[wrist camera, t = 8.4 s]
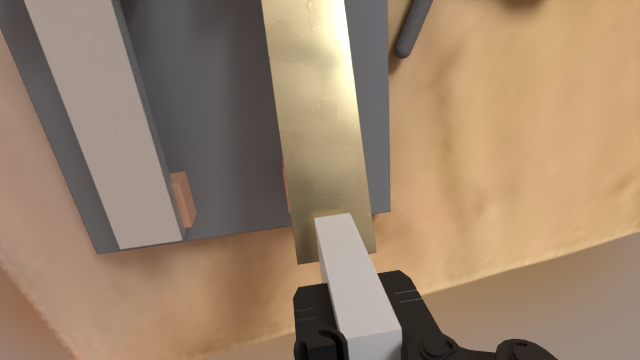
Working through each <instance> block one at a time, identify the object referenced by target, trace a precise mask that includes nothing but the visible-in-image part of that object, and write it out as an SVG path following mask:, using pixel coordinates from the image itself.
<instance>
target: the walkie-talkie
mask: <svg viewBox="0 0 640 360" xmlns="http://www.w3.org/2000/svg"><path fill="white" fill-rule="evenodd" d="M432 2H433V0H414V2H413V5H412V7H411V10H410V12H409V15H408V17H407V19H406V22H405V24H404V27H403V29H402V32H401V34H400V37H399V39H398V42H397V44H396V47H395V50H394V51H395V55H396V56H397V57H398V58H400V59H404V58H407V57H408V56H409V55H410V53H411V51H412V49H413V46H414V44H415V41H416V39H417V37H418V34H419V32H420V30H421V27H422V25H423V23H424V20H425V18H426V16H427V13H428V11H429V9H430V6H431V4H432Z"/></svg>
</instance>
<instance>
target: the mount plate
mask: <svg viewBox="0 0 640 360" xmlns="http://www.w3.org/2000/svg"><path fill="white" fill-rule="evenodd" d="M119 1H120V5H121V8H122V12H123V15H124V19H125V22H126V25H127V29H128V32H129V36H130V39H131V43H132V46H133V50H134V53H135V57H136V60H137V63H138V67H139V70H140V74H141V77H142V81H143V84H144V88H145V91H146V94H147V98H148V101H149V105H150V108H151V112H152V115H153V119H154V122H155V126H156V129H157V132H158V136H159V139H160V143H161V146H162V150H163V153H164V157H165V160H166V164H167V167H168V170H169V174H170V177H171V181H172V184H173V188H174V191H175V195H176V198H177V201H178V205H179V208H180V212H181V215H182V219H183V222H184V226H185V229H186V233H185V235H184V238H183V240H181V241H174V242H168V243H161V244H154V245H147V246H140V247H133V248H126V249H120V248H119V245H118V242H117V240H116V237H115V235H114V232H113V229H112V227H111V224H110V222H109V219H108V216H107V214H106V211H105V209H104V206H103V204H102V201H101V198H100V196H99V193H98V191H97V188H96V185H95V183H94V180H93V178H92V175H91V173H90V170H89V167H88V165H87V162H86V160H85V157H84V154H83V152H82V149H81V147H80V144H79V141H78V139H77V136H76V134H75V131H74V129H73V126H72V123H71V121H70V118H69V116H68V113H67V110H66V108H65V105H64V103H63V100H62V98H61V95H60V92H59V90H58V87H57V85H56V82H55V79H54V77H53V74H52V72H51V69H50V66H49V64H48V61H47V59H46V56H45V54H44V51H43V48H42V46H41V43H40V41H39V38H38V35H37V33H36V30H35V28H34V25H33V23H32V20H31V17H30V15H29V12H28V10H27V7H26V4H25V2H24V0H0V28H1V30H2V33H3V35H4V37H5V40H6V42H7V44H8V47H9V49H10V51H11V54H12V56H13V59H14V61H15V63H16V66H17V68H18V70H19V73H20V75H21V77H22V80H23V82H24V84H25V87H26V89H27V91H28V94H29V96H30V98H31V101H32V103H33V105H34V108H35V110H36V112H37V115H38V117H39V119H40V122H41V124H42V126H43V129H44V131H45V133H46V136H47V138H48V140H49V143H50V145H51V147H52V150H53V152H54V155H55V157H56V159H57V162H58V164H59V166H60V169H61V171H62V173H63V176H64V178H65V180H66V183H67V185H68V187H69V190H70V192H71V194H72V197H73V199H74V201H75V204H76V206H77V208H78V211H79V213H80V215H81V218H82V220H83V222H84V225H85V227H86V229H87V232H88V234H89V236H90V239H91V241H92V243H93V246H94V248H95V251H96V253H97V254H103V253H110V252H117V251H124V250H131V249H138V248H144V247H151V246H158V245H165V244H172V243H179V242H186V241H192V240H199V239H206V238H213V237H220V236H227V235H234V234H240V233H247V232H254V231H261V230H268V229H275V228H282V227H289V226H292V219H291V212H290V204H289V197H288V190H287V183H286V176H285V168H284V161H283V154H282V147H281V139H280V132H279V125H278V118H277V110H276V103H275V96H274V89H273V81H272V74H271V67H270V60H269V53H268V45H267V38H266V31H265V24H264V16H263V9H262V2H261V0H119ZM344 7H345V14H346V22H347V30H348V37H349V45H350V53H351V60H352V68H353V76H354V84H355V91H356V99H357V107H358V114H359V122H360V130H361V137H362V145H363V153H364V160H365V168H366V176H367V183H368V191H369V199H370V206H371V214H378V213H385V212H390V146H389V80H388V14H387V0H344Z"/></svg>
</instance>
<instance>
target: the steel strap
mask: <svg viewBox="0 0 640 360" xmlns="http://www.w3.org/2000/svg"><path fill="white" fill-rule="evenodd" d="M24 2H25V4H26V7H27V10H28V12H29V15H30V17H31V20H32V23H33V25H34V28H35V30H36V33H37V35H38V38H39V41H40V43H41V46H42V48H43V51H44V54H45V56H46V59H47V61H48V64H49V66H50V69H51V72H52V74H53V77H54V79H55V82H56V85H57V87H58V90H59V92H60V95H61V98H62V100H63V103H64V105H65V108H66V110H67V113H68V116H69V118H70V121H71V123H72V126H73V129H74V131H75V134H76V136H77V139H78V141H79V144H80V147H81V149H82V152H83V154H84V157H85V160H86V162H87V165H88V167H89V170H90V173H91V175H92V178H93V180H94V183H95V185H96V188H97V191H98V193H99V196H100V198H101V201H102V204H103V206H104V209H105V211H106V214H107V216H108V219H109V222H110V224H111V227H112V229H113V232H114V235H115V237H116V240H117V242H118V245H119V248H120V249H126V248H133V247H140V246H147V245H154V244H161V243H168V242H174V241H181V240H183V238H184V235H185V233H186V229H185V226H184V222H183V219H182V215H181V212H180V208H179V205H178V201H177V198H176V195H175V191H174V188H173V184H172V181H171V177H170V174H169V170H168V167H167V164H166V160H165V157H164V153H163V150H162V146H161V143H160V139H159V136H158V132H157V129H156V126H155V122H154V119H153V115H152V112H151V108H150V105H149V101H148V98H147V94H146V91H145V88H144V84H143V81H142V77H141V74H140V70H139V67H138V63H137V60H136V57H135V53H134V50H133V46H132V43H131V39H130V36H129V32H128V29H127V25H126V22H125V19H124V15H123V12H122V8H121V5H120V1H119V0H24Z"/></svg>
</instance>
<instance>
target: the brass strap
mask: <svg viewBox="0 0 640 360" xmlns="http://www.w3.org/2000/svg"><path fill="white" fill-rule="evenodd" d="M261 2H262V9H263V16H264V24H265V31H266V38H267V45H268V53H269V60H270V67H271V74H272V81H273V89H274V96H275V103H276V110H277V118H278V125H279V132H280V139H281V147H282V154H283V161H284V168H285V176H286V183H287V190H288V197H289V204H290V212H291V219H292V226H293V233H294V241H295V248H296V255H297V262H298V265H299V264H306V263H312V262H319V254H318V246H317V238H316V229H315V221H314V218H319V217H325V216H332V215H339V214H345V213H350V214H351V216H352V219H353V221H354V223H355V225H356V228H357V230H358V232H359V234H360V237H361V239H362V241H363V243H364V246H365V248H366V250H367V252H368V254H371V253H377V252H376V245H375V237H374V229H373V222H372V214H371V206H370V199H369V191H368V183H367V176H366V168H365V160H364V153H363V145H362V137H361V130H360V122H359V114H358V107H357V99H356V91H355V84H354V76H353V68H352V60H351V53H350V45H349V37H348V30H347V22H346V14H345V7H344V0H261Z"/></svg>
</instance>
